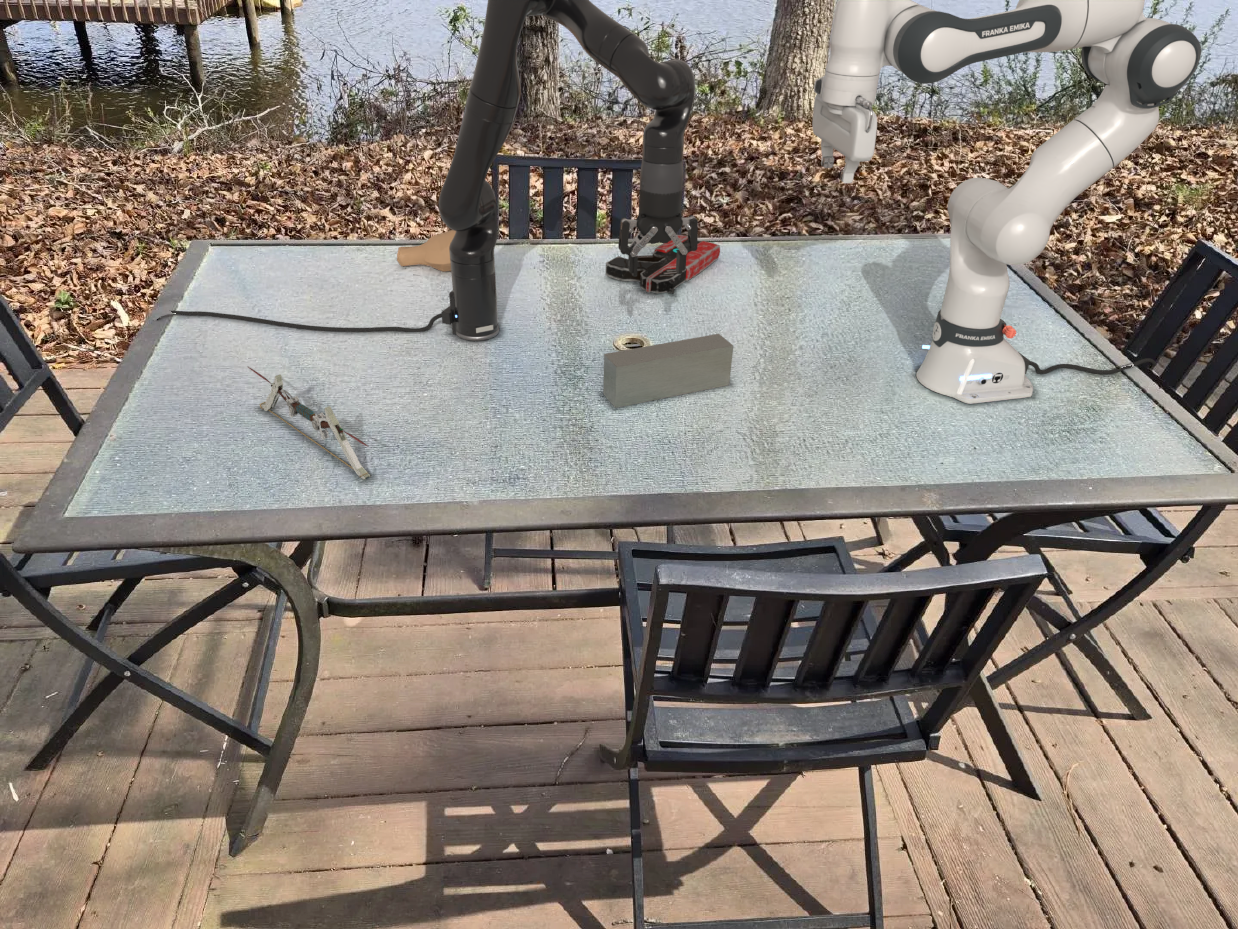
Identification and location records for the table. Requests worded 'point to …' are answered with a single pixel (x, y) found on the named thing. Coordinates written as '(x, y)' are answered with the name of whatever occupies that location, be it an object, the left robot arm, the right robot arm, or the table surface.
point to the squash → (429, 252)
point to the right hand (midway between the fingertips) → (836, 174)
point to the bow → (314, 422)
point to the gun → (664, 266)
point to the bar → (667, 370)
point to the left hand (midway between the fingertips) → (656, 273)
